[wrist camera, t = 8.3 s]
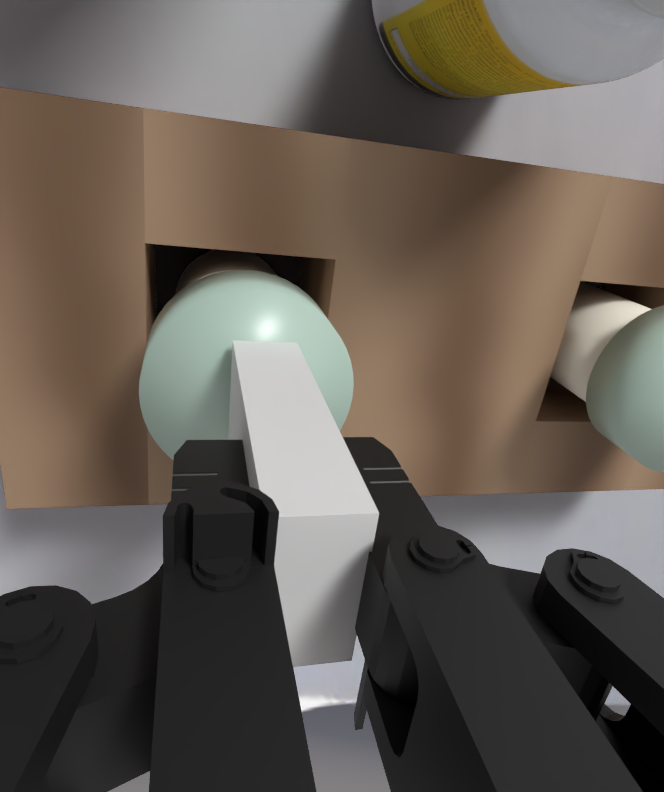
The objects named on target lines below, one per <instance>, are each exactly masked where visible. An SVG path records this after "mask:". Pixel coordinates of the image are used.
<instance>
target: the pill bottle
mask: <svg viewBox="0 0 664 792" xmlns="http://www.w3.org/2000/svg"><path fill="white" fill-rule="evenodd" d="M372 8H373V15H374V19H375V24H376V28H377V31H378V34H379V37H380V40H381V42H382V44H383V47H384V49H385V51H386V53H387V55H388V56H389V58H390V59H391V61H392V62H393V64H394V65H395V67H396V68H397V69H398V70H399V72H400V73H401V74H402V75H403V76H404V77H405V78H406V79H407V80H408V81H410V82H411V83H412V84H413V85H415V86H416V87H418V88H420V89H421V90H423V91H425V92H427V93H430V94H432V95H435V96H438V97H443V98H449V99H470V98H480V97H488V96H496V95H505V94H513V93H522V92H530V91H538V90H547V89H555V88H563V87H572V86H581V85H589V84H597V83H604V82H609V81H614V80H618V79H621V78H625V77H628V76H630V75H633V74H635V73H638V72H640V71H642V70H644V69H646V68H648V67H650V66H652V65H654V64H655V63H657V62H659V61H660V60H662V59H663V58H664V0H372Z"/></svg>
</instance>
